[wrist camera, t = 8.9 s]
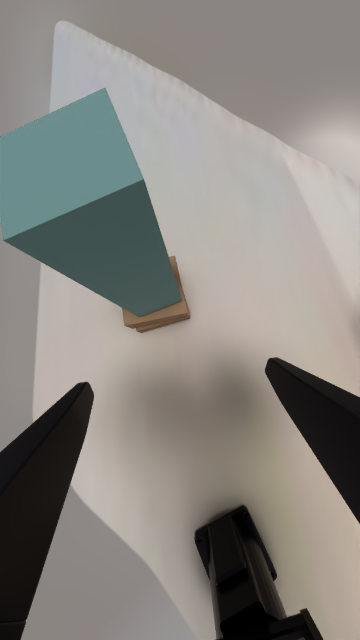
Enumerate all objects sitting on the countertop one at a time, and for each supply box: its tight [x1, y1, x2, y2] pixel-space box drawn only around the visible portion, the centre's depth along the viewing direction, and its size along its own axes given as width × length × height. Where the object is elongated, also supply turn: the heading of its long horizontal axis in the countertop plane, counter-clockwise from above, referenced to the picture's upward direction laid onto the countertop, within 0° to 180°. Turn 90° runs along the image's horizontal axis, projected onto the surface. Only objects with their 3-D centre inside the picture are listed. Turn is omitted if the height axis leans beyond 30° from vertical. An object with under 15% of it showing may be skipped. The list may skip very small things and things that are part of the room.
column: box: [0, 88, 182, 317], centre depth 11 cm, size 5×5×12 cm
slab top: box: [122, 256, 187, 329], centre depth 19 cm, size 7×7×2 cm
